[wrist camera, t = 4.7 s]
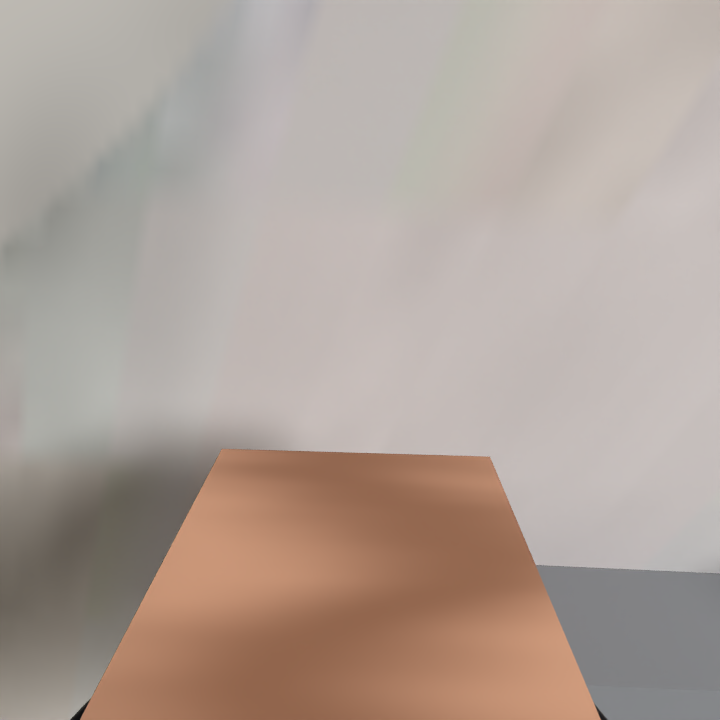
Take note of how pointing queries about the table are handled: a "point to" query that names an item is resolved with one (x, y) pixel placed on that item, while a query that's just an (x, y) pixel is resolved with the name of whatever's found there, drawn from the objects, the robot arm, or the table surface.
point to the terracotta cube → (345, 600)
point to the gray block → (642, 639)
